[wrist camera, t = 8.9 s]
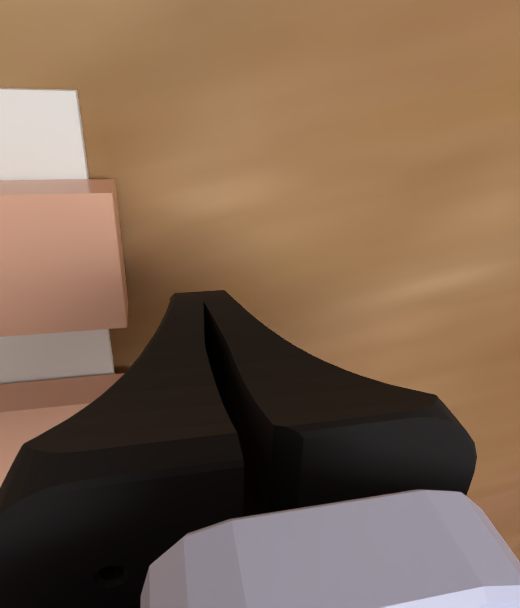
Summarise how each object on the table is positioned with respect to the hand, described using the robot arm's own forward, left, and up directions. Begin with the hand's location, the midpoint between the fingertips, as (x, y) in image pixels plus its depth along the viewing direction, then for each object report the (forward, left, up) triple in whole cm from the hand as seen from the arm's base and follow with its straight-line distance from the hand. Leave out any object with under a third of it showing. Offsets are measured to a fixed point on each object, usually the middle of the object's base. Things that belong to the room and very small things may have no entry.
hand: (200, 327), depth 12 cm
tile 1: (0, +2, -5) cm, 5 cm away
